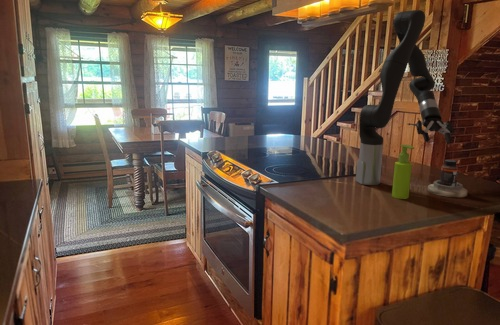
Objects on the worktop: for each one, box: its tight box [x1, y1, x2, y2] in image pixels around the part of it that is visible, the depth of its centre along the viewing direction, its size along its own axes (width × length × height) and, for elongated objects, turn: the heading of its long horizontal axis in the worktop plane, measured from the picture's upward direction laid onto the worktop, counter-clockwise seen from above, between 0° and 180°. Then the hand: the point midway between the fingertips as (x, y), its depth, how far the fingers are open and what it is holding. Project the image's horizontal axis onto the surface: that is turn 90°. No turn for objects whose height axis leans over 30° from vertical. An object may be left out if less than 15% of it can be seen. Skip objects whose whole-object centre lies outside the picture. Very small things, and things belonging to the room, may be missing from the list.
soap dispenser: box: [391, 144, 415, 200], centre depth 138 cm, size 6×7×20 cm
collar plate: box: [427, 179, 469, 198], centre depth 147 cm, size 14×14×4 cm
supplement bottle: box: [439, 159, 459, 186], centre depth 146 cm, size 6×6×11 cm
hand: (438, 141), depth 155 cm, fingers open, 8 cm apart
